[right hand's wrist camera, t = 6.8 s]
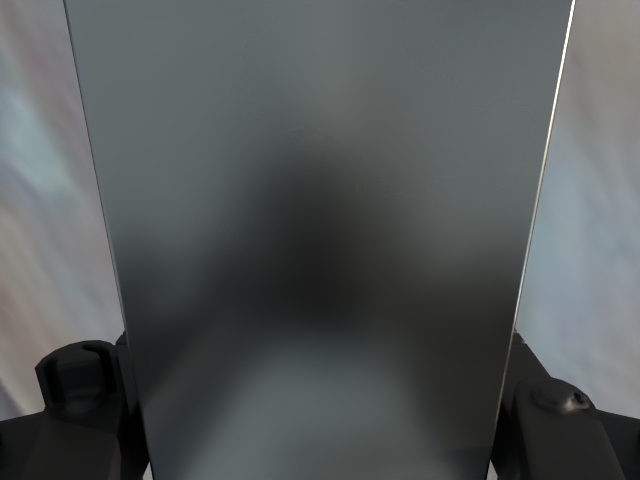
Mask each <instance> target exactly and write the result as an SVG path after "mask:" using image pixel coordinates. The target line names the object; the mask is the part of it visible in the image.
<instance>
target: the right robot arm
mask: <svg viewBox="0 0 640 480" xmlns="http://www.w3.org/2000/svg"><path fill="white" fill-rule="evenodd" d="M35 371H36V374H37V378H38V381H39V385H40V388H41V392H42V395H43V399H44V402H45V409H44V411H42V412H39V413H35V414H31V415H26V416H22V417H17V418H13V419H9V420H4V421H0V480H143V475H144V473H145V470H146V468H147V466H148V463H149V456H148V450H147V445H146V440H145V434H144V429H143V424H142V418H141V413H140V408H139V402H138V397H137V392H136V386H135V381H134V376H133V370H132V365H131V360H130V354H129V349H128V344H127V338H126V333H125V330H124V332H123V335H121V336H120V337H119V339H118V340H117V341H116V345H112V344H111V343H109V342H105V341H101V340H89V341H81V342H77V343H73V344H69V345H67V346H64V347H62V348H59V349H57V350H55V351H53V352H52V353H50V354H49V355H47V356H46V357H44V358H43V359H42V360H41V361H40V362H39V363H38V365H37V366H36V367H35ZM490 459H491V462H492V464H493V466H494V469H495V471H496V473H497V476H498V477H497V480H640V419H636V418H632V417H627V416H622V415H618V414H613V413H609V412H605V411H601V410H598V409H596V408H595V406H594V404H593V403H592V401H591V400H590V399H589V397H588V396H587V395H586V394H585V393H583V392H582V391H581V390H579V389H578V388H577V387H575V386H573V385H571V384H569V383H567V382H565V381H563V380H560V379H556V378H552V377H550V375H549V374H548V372H547V371H546V370H545V368H544V367H543V366H542V364H541V363H540V362H539V360H538V359H537V358H536V356H535V355H534V353H533V352H532V351H531V349H530V348H529V347H528V345H527V344H525V343H524V340H523V338H522V337H521V336H520V334H519V333H517V330H516V329H515V330H514V335H513V341H512V346H511V351H510V357H509V362H508V367H507V373H506V378H505V383H504V389H503V394H502V399H501V405H500V410H499V416H498V421H497V426H496V432H495V437H494V442H493V448H492V453H491V458H490Z"/></svg>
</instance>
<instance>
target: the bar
mask: <svg viewBox="0 0 640 480" xmlns="http://www.w3.org/2000/svg"><path fill="white" fill-rule="evenodd" d="M63 2H64V8H65V13H66V18H67V24H68V29H69V34H70V40H71V45H72V50H73V56H74V61H75V66H76V72H77V77H78V82H79V88H80V93H81V98H82V104H83V109H84V114H85V120H86V125H87V130H88V136H89V141H90V146H91V152H92V157H93V162H94V168H95V173H96V178H97V184H98V189H99V194H100V200H101V205H102V210H103V216H104V221H105V226H106V232H107V237H108V242H109V248H110V253H111V258H112V264H113V269H114V274H115V280H116V285H117V290H118V296H119V301H120V306H121V312H122V317H123V322H124V328H125V333H126V338H127V344H128V349H129V354H130V360H131V365H132V370H133V376H134V381H135V386H136V392H137V397H138V402H139V408H140V413H141V418H142V424H143V429H144V434H145V440H146V445H147V450H148V456H149V461H150V466H151V472H152V477H153V480H487V474H488V469H489V464H490V458H491V453H492V448H493V442H494V437H495V432H496V426H497V421H498V416H499V410H500V405H501V399H502V394H503V389H504V383H505V378H506V373H507V367H508V362H509V357H510V351H511V346H512V341H513V335H514V330H515V325H516V319H517V314H518V309H519V303H520V298H521V293H522V287H523V282H524V276H525V271H526V266H527V260H528V255H529V250H530V244H531V239H532V234H533V228H534V223H535V218H536V212H537V207H538V202H539V196H540V191H541V186H542V180H543V175H544V170H545V164H546V159H547V153H548V148H549V143H550V137H551V132H552V127H553V121H554V116H555V111H556V105H557V100H558V95H559V89H560V84H561V79H562V73H563V68H564V63H565V57H566V52H567V47H568V41H569V36H570V30H571V25H572V20H573V14H574V9H575V4H576V0H63Z"/></svg>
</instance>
